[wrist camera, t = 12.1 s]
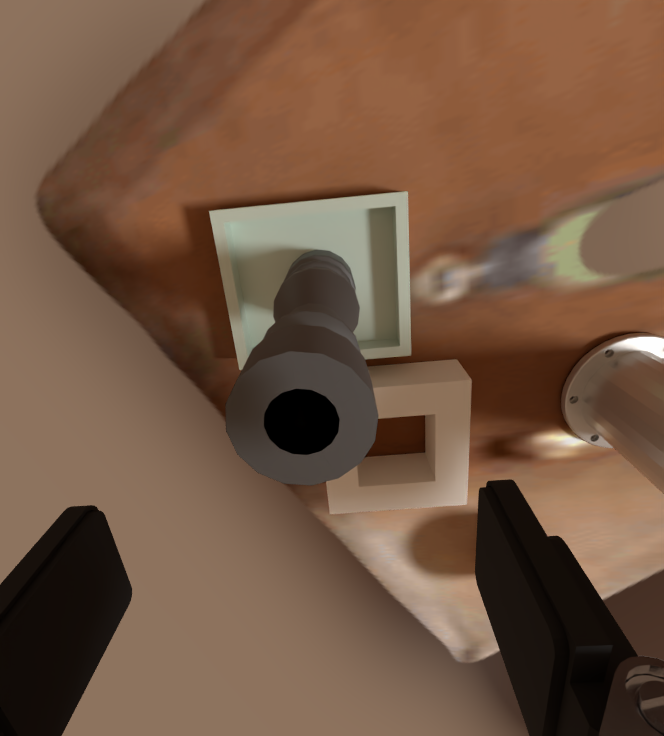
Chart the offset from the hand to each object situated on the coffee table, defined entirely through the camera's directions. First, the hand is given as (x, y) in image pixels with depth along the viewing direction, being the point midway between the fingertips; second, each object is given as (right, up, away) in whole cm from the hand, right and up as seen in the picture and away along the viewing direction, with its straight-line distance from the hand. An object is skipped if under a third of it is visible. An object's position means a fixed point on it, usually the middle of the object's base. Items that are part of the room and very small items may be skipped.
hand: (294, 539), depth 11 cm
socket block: (+7, -2, +35) cm, 36 cm away
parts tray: (0, +12, +29) cm, 31 cm away
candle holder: (0, +12, +28) cm, 31 cm away
